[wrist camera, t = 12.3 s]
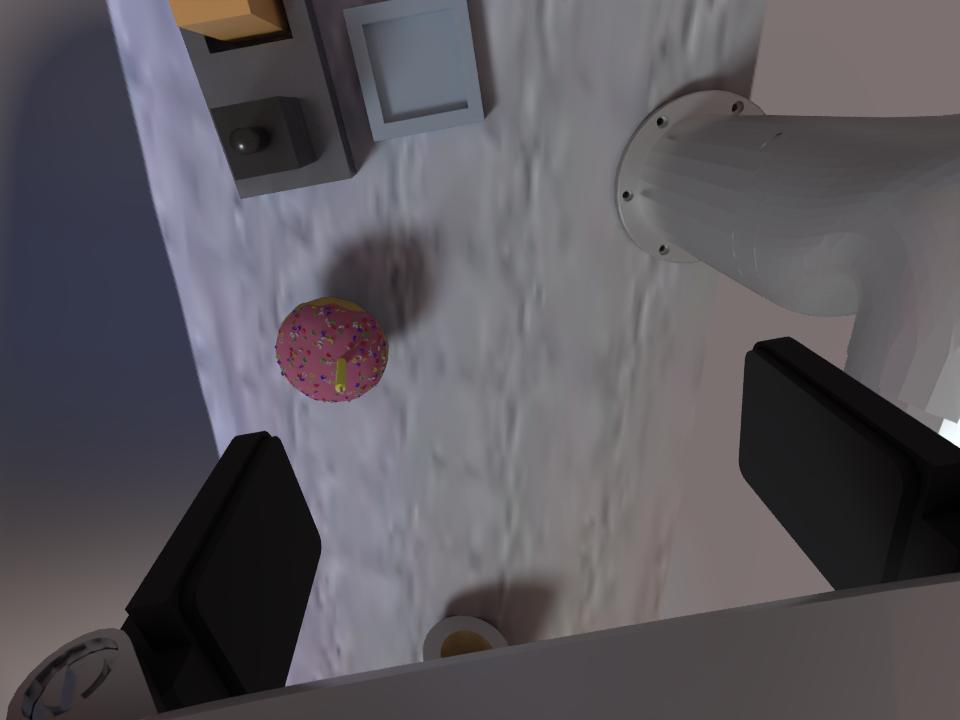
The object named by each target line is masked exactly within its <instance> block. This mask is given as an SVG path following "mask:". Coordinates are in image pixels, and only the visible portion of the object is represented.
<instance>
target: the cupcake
mask: <svg viewBox="0 0 960 720" xmlns="http://www.w3.org/2000/svg"><path fill="white" fill-rule="evenodd" d="M275 348H276V355H277V357H276V358H277V359H278V361H277V362H278V364H279V365H280V368H281V370H282V372H281V374H282V373H283V374H282V375H285V377H286V378H287V379H288V381H289V382H290V383H291V384H292V385H293V387H294V388H296V389H298V390H299V391H301V392H302V393H304V394H305V395H306V396H309V397H310V398H312V399H314V400H320V401H323V402H325V401H328V402H331V403H335V402H338V401H348V400H349V401H348V402H350V401H351V400H352V399H355V398H358V397H360V396H361V395H363V394H364V393H366V392H367V391H369V390H370V389H371V388H373V387H374V386H377V385H376V384H377V383H378V382H379V381H380V379H381V377H382V375H383V373H384V370H385V368H386V365H387V361H388V348H389V345H388V340H387V338H386V336H385V334H384V332H383V330H382V328H381V326H380V324H379V322H378V321H377V320H376V319H375V318H374V317H373V316H371V315H370V314H369V313H368V312H366V311H365V310H364V309H363V308H361V307H360V306H359V305H357V304H356V303H354V302H351V301H347V300H343V299H339V298H334V297H324V298H320V299H316V300H313V301H310V302H307V303H302V304H300V305H298V306H297V307H296V308H295V309H294V310H293V311H292V312H291V313H290V314H289V315H288V316H287V317H286V318H285V320H284V321H283V322H282V324H281V326H280V329H279V333H278V337H277V341H276V346H275ZM325 403H326V402H325Z"/></svg>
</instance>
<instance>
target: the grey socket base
mask: <svg viewBox="0 0 960 720" xmlns="http://www.w3.org/2000/svg"><path fill="white" fill-rule="evenodd" d="M283 3H284V7H285V10H286V14H287V18H288V21H289V25H290V28H291V32H292V35H293V38H291V39H286V40H281V41H275V42H270V43H265V44H260V45H255V46H249V47H244V48H239V49H234V50H228V51H222V48H221V45H220V42H219V39H216V38H213V37H210V36H207V35H203V34H200V33H197V32H194V31H191V30H187V29H184V28H181V27H179V28H180V31H181V34H182V37H183V40H184V42H185V45H186V48H187V51H188V53H189V56H190V59H191V62H192V65H193V67H194V70H195V73H196V76H197V78H198V81H199V84H200V87H201V90H202V92H203V95H204V98H205V101H206V103H207V106H208V109H209V112H210V115H211V117H212V120H213V123H214V126H215V128H216V131H217V134H218V137H219V140H220V142H221V145H222V148H223V151H224V153H225V156H226V159H227V162H228V165H229V167H230V170H231V173H232V176H233V179H234V181H235V184H236V187H237V190H238V192H239V195H240V198H241V199H243V198H248V197H253V196H259V195H264V194H269V193H275V192H280V191H285V190H291V189H296V188H301V187H307V186H312V185H317V184H323V183H328V182H333V181H339V180H344V179H349V178H352V177H354V176H355V175H356V170H355V166H354V162H353V158H352V155H351V151H350V147H349V143H348V139H347V135H346V131H345V128H344V124H343V120H342V116H341V112H340V108H339V104H338V101H337V97H336V93H335V89H334V85H333V81H332V77H331V74H330V70H329V66H328V62H327V58H326V54H325V50H324V47H323V43H322V39H321V35H320V31H319V27H318V24H317V20H316V16H315V12H314V8H313V4H312V0H283Z"/></svg>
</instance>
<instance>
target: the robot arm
mask: <svg viewBox="0 0 960 720" xmlns="http://www.w3.org/2000/svg"><path fill="white" fill-rule="evenodd" d="M733 104H734V106H735V108H734V110H733V111H732V106H733ZM658 118H660V119H661V123H660V125H657V119H658ZM614 186H615V204H616V209H617V214H618V217H619V219H620V222H621V224H622V227H623V229H624V230H625V231H626V233H627V234H628V236H629V237H630V239H631V240H632V241H633V242H634V243H636V244H637V245H638V246H639V247H640V248H641V249H643V250H644V251H646V252H647V253H649V254H650V255H652V256H654V257H656V258H658V259H661V260H665V261H669V262H674V263H693V262H698V261H702V262H704V263H706V264H707V265H709V266H711V267H712V268H714V269H716V270H717V271H719V272H721V273H722V274H724V275H726V276H728V277H729V278H731V279H733V280H735V281H736V282H738V283H740V284H741V285H743V286H745V287H746V288H748V289H750V290H751V291H753V292H755V293H756V294H758V295H760V296H761V297H764V298H766V299H768V300H769V301H771V302H773V303H775V304H776V305H778V306H780V307H782V308H785V309H787V310H790V311H792V312H796V313H800V314H803V315H808V316H817V317H841V316H849V315H855V314H856V317H855V322H854V327H853V330H852V335H851V338H850V341H849V345H848V348H847V355H848V357H847V360H846V364H845V367H844V371H842V370H840V369H839V368H837V367H836V366H834V365H833V364H831V363H830V362H828V361H827V360H825V359H823V358H822V357H821V356H819V355H817V354H816V353H814V352H813V351H811V350H810V349H808V348H807V347H805V346H804V345H802V344H801V343H799V342H798V341H796V340H795V339H793V338H791V337H783V338H776V339H771V340H765V341H760V342H757V343H756V344H755V345H754V347H753V350H751V351H748V352H747V354H746V356H745V366H744V383H743V399H742V415H741V432H740V447H739V467H740V471H741V473H742V475H743V477H744V479H745V480H746V482H747V483H748V484H749V485H750V486H751V488H752V489H753V490H754V491H755V493H756V494H757V495H758V496H759V497H760V498H761V500H762V501H763V502H764V504H765V505H766V506H767V507H768V508H769V510H770V511H771V512H772V513H773V514H774V516H775V517H776V518H777V520H778V521H779V522H780V523H781V524H782V526H783V527H784V528H785V529H786V530H787V532H788V533H789V534H790V535H791V537H792V538H793V539H794V540H795V542H796V543H797V544H798V545H799V547H800V548H801V549H802V550H803V551H804V553H805V554H806V555H807V556H808V557H809V559H810V560H811V561H812V562H813V564H814V565H815V566H816V567H817V568H818V570H819V571H820V572H821V574H822V575H823V576H824V577H825V578H826V580H827V581H828V582H829V583H830V585H831V586H832V587H833V588H834V589H835V591H831V592H826V593H819V594H813V595H808V596H801V597H795V598H790V599H783V600H777V601H772V602H765V603H759V604H754V605H747V606H741V607H736V608H729V609H723V610H718V611H711V612H706V613H700V614H694V615H688V616H682V617H676V618H670V619H664V620H658V621H652V622H647V623H641V624H635V625H629V626H623V627H617V628H612V629H606V630H600V631H594V632H588V633H583V634H577V635H571V636H565V637H560V638H554V639H548V640H542V641H537V642H531V643H525V644H519V645H514V646H508V647H502V648H496V649H491V650H485V651H479V652H473V653H468V654H462V655H457V656H451V657H446V658H440V659H434V660H429V661H423V662H418V663H412V664H406V665H401V666H395V667H390V668H384V669H379V670H373V671H367V672H362V673H356V674H351V675H345V676H339V677H334V678H328V679H323V680H317V681H312V682H307V683H302V684H297V685H292V686H287V687H285V684H286V680H287V676H288V673H289V669H290V665H291V662H292V658H293V654H294V651H295V647H296V643H297V640H298V636H299V632H300V629H301V625H302V621H303V618H304V614H305V610H306V607H307V603H308V599H309V595H310V592H311V588H312V584H313V581H314V577H315V573H316V570H317V566H318V562H319V559H320V555H321V539H320V535H319V532H318V530H317V528H316V525H315V523H314V520H313V518H312V515H311V513H310V510H309V508H308V505H307V503H306V501H305V498H304V496H303V493H302V491H301V488H300V486H299V483H298V481H297V478H296V476H295V474H294V471H293V469H292V466H291V464H290V461H289V459H288V456H287V454H286V452H285V449H284V447H283V444H282V442H281V440H280V439H279V438H278V437H277V436H274V437H271V435H270V434H269V433H268V432H266V431H261V432H255V433H250V434H244V435H239V436H235V437H234V438H233V439H232V441H231V443H230V444H229V446H228V447H227V449H226V450H225V452H224V454H223V455H222V457H221V458H220V460H219V462H218V463H217V465H216V466H215V468H214V469H213V471H212V473H211V474H210V476H209V477H208V479H207V481H206V482H205V484H204V485H203V487H202V488H201V490H200V492H199V493H198V495H197V496H196V498H195V499H194V501H193V503H192V504H191V506H190V508H189V509H188V511H187V512H186V514H185V516H184V517H183V518H182V520H181V522H180V523H179V525H178V526H177V528H176V530H175V531H174V533H173V534H172V536H171V537H170V539H169V541H168V542H167V544H166V545H165V547H164V549H163V550H162V552H161V553H160V555H159V556H158V558H157V560H156V561H155V563H154V564H153V566H152V567H151V569H150V571H149V572H148V574H147V576H146V577H145V578H144V580H143V582H142V583H141V585H140V586H139V588H138V590H137V591H136V593H135V594H134V596H133V597H132V599H131V601H130V602H129V604H128V605H127V607H126V608H125V610H126V611H127V613H128V614H129V616H128V618H127V619H126V621H125V622H124V624H123V626H122V627H121V629H120V630H119V629H115V628H107V629H99V630H96V631H93V632H90V633H87V634H84V635H82V636H80V637H78V638H76V639H74V640H72V641H70V642H69V643H67V644H65V645H63V646H62V647H61V648H59V649H58V650H56V651H55V652H54V653H52V654H51V655H49V656H48V657H47V658H46V659H44V660H43V661H42V662H41V663H40V664H39V665H38V666H37V667H36V668H35V669H34V670H33V671H32V672H31V673H30V674H29V675H28V676H27V677H26V679H25V680H24V681H23V682H22V684H21V685H20V686H19V687H18V689H17V690H16V692H15V694H14V696H13V698H12V700H11V702H10V704H9V706H8V712H7V718H6V720H960V114H953V115H943V116H921V117H889V118H886V117H829V116H827V117H826V116H824V117H823V116H782V115H781V116H779V115H766V114H765V113H763V111H762V110H761V109H760V107H759V106H757V105H756V104H754V103H753V102H752V101H750V100H749V99H747V98H746V97H743V96H741V95H738V94H736V93H733V92H728V91H720V90H703V91H698V92H693V93H687V94H685V95H682V96H680V97H677V98H675V99H672V100H670V101H669V102H667V103H666V104H664V105H662V106H661V107H659V108H658V109H656V110H655V111H654V112H653V113H652V114H651V115H649V116H648V117H647V118H646V119H645V120H644V121H643V122H642V123H641V125H640V126H639V127H638V128H637V130H636V131H635V132H634V133H633V135H632V136H631V138H630V140H629V141H628V143H627V145H626V147H625V149H624V151H623V153H622V156H621V159H620V161H619V164H618V167H617V172H616V178H615V184H614ZM625 191H627V196H626V197H623V193H624V192H625ZM662 245H663V248H662V250H659V249H660V247H661V246H662Z"/></svg>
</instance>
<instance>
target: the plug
mask: <svg viewBox="0 0 960 720" xmlns="http://www.w3.org/2000/svg"><path fill="white" fill-rule="evenodd" d="M169 3H170V6H171V9H172V12H173V15H174V18H175V20H176V23H177V26H178V27H181V28H184V29H187V30H191V31H194V32H197V33H200V34H203V35H207V36H210V37H213V38H216V39H219V40H223V41H226V42H229V43H236V42H242V41H247V40H253V39H259V38H264V37H270V36H276V35H281V34H287V33H290V31H289V28H288V24H287V20H286V17H285V13H284V9H283V5H282V2H281V0H169Z"/></svg>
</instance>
